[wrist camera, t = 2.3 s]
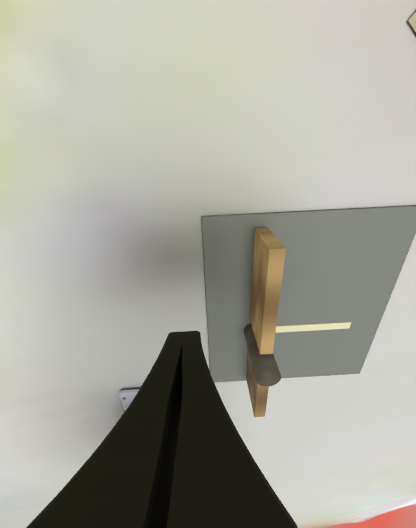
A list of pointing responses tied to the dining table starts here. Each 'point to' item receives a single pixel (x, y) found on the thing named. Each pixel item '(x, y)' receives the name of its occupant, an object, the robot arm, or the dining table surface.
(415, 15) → the condiment
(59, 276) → the dining table surface
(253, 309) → the fence panel
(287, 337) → the card
